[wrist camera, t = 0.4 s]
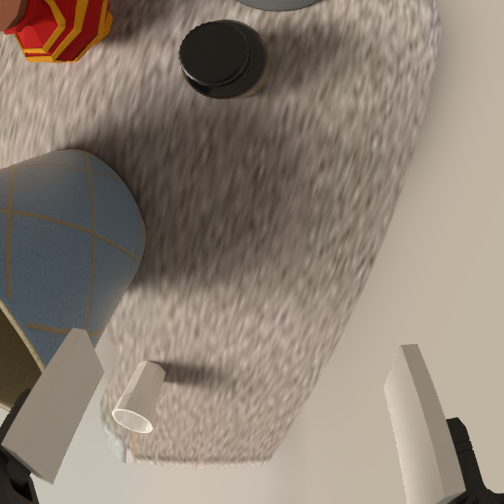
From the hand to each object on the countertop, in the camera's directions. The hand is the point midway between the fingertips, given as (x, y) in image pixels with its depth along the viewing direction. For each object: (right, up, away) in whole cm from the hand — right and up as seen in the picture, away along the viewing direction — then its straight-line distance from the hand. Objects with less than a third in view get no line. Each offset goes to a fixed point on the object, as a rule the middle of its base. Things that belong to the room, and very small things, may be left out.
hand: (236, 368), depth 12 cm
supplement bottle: (-1, +23, +16) cm, 28 cm away
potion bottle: (-18, +31, +14) cm, 38 cm away
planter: (-22, +9, +26) cm, 35 cm away
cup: (-16, -16, +38) cm, 45 cm away
